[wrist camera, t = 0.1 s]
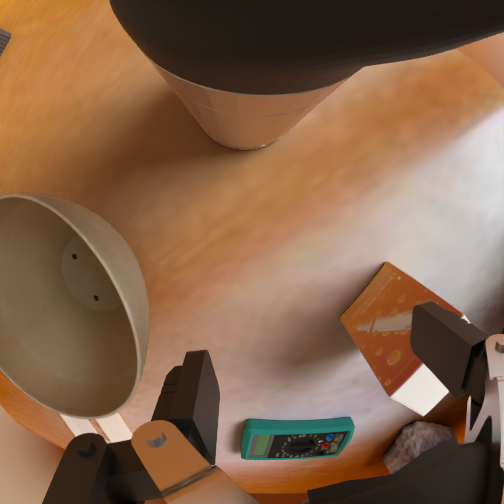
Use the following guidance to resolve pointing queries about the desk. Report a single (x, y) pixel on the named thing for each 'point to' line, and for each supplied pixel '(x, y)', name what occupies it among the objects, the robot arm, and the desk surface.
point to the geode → (415, 443)
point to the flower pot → (69, 307)
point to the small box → (395, 337)
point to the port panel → (110, 426)
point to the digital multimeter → (295, 438)
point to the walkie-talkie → (4, 39)
